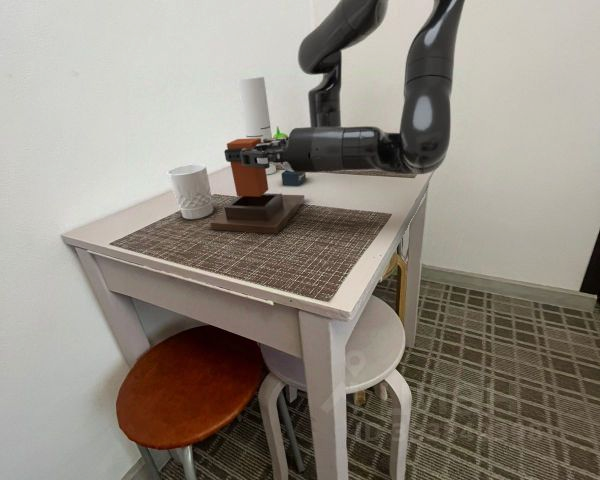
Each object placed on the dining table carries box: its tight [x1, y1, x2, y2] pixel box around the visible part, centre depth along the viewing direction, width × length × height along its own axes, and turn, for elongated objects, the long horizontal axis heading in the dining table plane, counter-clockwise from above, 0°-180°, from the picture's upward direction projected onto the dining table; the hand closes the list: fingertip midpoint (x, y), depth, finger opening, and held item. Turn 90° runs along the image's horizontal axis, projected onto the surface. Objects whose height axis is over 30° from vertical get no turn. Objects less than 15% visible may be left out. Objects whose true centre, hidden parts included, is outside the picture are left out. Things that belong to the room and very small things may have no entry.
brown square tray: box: [210, 192, 306, 235], centre depth 68 cm, size 16×14×4 cm
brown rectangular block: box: [226, 138, 269, 197], centre depth 62 cm, size 4×5×10 cm
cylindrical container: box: [236, 76, 277, 176], centre depth 92 cm, size 7×7×25 cm
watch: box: [280, 162, 307, 187], centre depth 83 cm, size 6×8×11 cm
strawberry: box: [272, 125, 289, 138], centre depth 109 cm, size 6×7×10 cm
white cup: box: [166, 163, 214, 220], centre depth 70 cm, size 8×8×10 cm
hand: (232, 152), depth 61 cm, fingers closed on brown rectangular block, 4 cm apart
